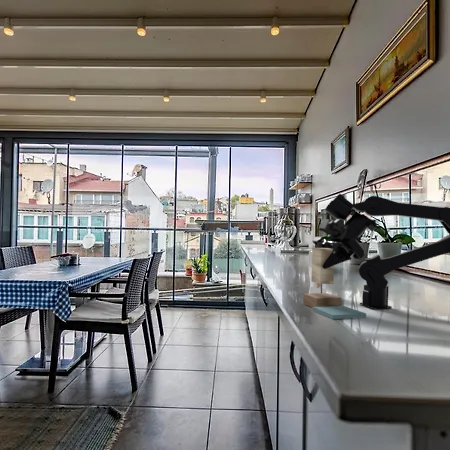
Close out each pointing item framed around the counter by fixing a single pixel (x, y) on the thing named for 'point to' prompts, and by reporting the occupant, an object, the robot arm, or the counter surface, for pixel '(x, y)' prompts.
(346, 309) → the teal mat
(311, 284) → the beer glass
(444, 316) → the counter surface
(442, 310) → the counter surface
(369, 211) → the robot arm
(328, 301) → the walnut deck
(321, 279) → the maple block
